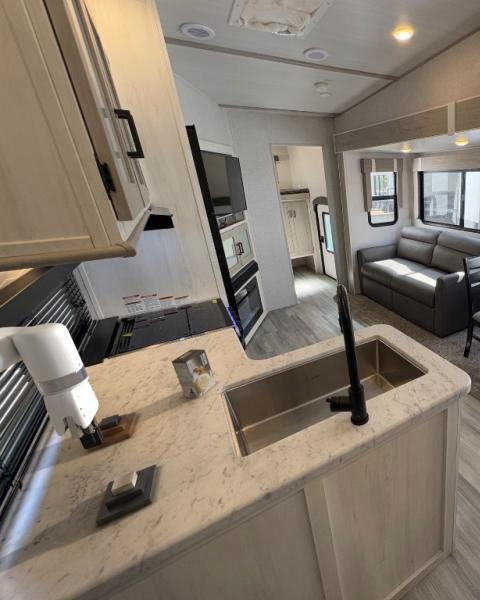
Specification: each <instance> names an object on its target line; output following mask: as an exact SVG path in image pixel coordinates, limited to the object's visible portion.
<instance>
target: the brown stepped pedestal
mask: <svg viewBox="0 0 480 600" xmlns="http://www.w3.org/2000/svg"><path fill="white" fill-rule="evenodd" d="M119 417H120V421H119V424H118V426H115V427H112V428H109V429H105V430H102V431H101V429H100V427H99V425H100V423H101V421H99V423H98V426H97V427H99V429H100V431H101V433H102V435H103V438H104V441H103V443H102V444H101V445H99V446H96V447H93V448H90V449H87V451H88V453H91V452H92V451H95V450H98V449H101V448H104V447H107V446H110V445H112V444H117V443H118V442H122V441H124V440H127V439H130V438H131V437H132V434H133V432H134V428H135V425H136V422H137V419H138V414H137V411H134V412H131V413H124V414H122V415H119Z"/></svg>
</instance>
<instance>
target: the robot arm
mask: <svg viewBox="0 0 480 600" xmlns="http://www.w3.org/2000/svg"><path fill="white" fill-rule="evenodd" d="M21 361H22V362H23V363H24V365H25V367H26V369H27V371H28V373H29V375H30V377H31V379H32V380H33V383H34V385H35V386H36V388H37V390H38V392H39V394H40V395H42V396H43V401H44V406H45V408H46V411H47V412H46V413H47V414H48V417H49V420H50V422H51V424H52V426H53V428H54V430H55V433H56V435H57V436H59V437H62V436H64V435H65V434H66V433H67V431H68V430H69V434H70V436H71V439H72V440H77V439H79V441H80V443H81V445H82V447H83V449H84V450H88V449H90V448H93V447H96V446H99V445H101V444H102V443H103V441H104V438H103V435H102V433H101V431H100V429H99V427H97V426H98V424H99V423H98V420H97V417H96V414H97V411H98V410H99V406H100V405H99V403H100V402H99V401H98V397H97V396H96V393H95V391H94V390H93V387H92V386H91V384H90V382H89V381H88V380H89V379H90V376H89V373H88V372H87V369H86V368H85V367H86V366H85V365H84V363H83V361H82V359H81V356H80V353H79V352H78V349H77V347H76V344H75V343H74V340H73V338H72V336H71V334H70V332H69V329H68V328H67V327H66V326H65V324H62V323H59V322H48V323H41V324H38V325H33V326H6V327H5V326H4V327H0V373H2V372H3V371H5V370H6V369H8V368H10V367H11V366H13V365H16V364H17V363H19V362H21Z"/></svg>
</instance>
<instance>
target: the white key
mask: <svg viewBox="0 0 480 600" xmlns="http://www.w3.org/2000/svg"><path fill="white" fill-rule="evenodd" d="M136 472H137V471H136V470H133V471H130V472H128V473H125V474H123V475H120V476H118V477H115V478H114V479H113V481H114V483H113V486H112V490H111V491H112V493H113V495H114V496H116V495H118V494H120V493H123V492H125V491H128V490H130V489H133V488H135V486H136V482H137V478H138V476H137V474H136Z"/></svg>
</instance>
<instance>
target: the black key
mask: <svg viewBox="0 0 480 600" xmlns="http://www.w3.org/2000/svg"><path fill="white" fill-rule="evenodd" d="M119 416H120V415H119V413H117V414H113V415H110V416H107V417H104V418H102V419H101V420H100V422H101V423H100V425H99V427H100V429H101V431H102V430H105V429H109V428H112V427H115V426H118V424H119V421H120V417H119Z"/></svg>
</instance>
